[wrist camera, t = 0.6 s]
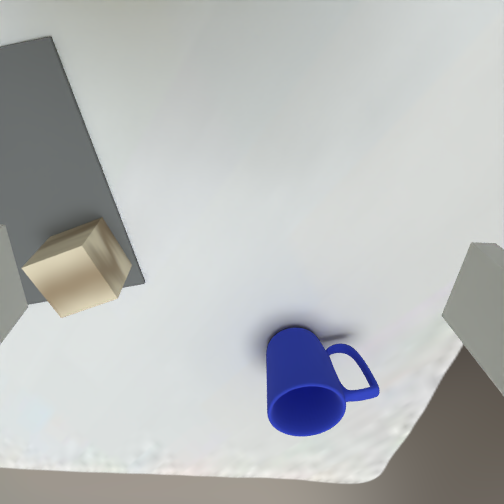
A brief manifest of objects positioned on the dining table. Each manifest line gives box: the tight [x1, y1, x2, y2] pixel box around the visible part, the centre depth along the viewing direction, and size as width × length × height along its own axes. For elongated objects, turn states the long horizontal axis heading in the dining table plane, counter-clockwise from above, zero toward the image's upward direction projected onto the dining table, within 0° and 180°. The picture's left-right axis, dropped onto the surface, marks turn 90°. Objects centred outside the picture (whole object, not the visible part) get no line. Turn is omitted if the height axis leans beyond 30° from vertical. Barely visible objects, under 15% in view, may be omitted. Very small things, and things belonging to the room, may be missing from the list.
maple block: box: [22, 217, 132, 318], centre depth 37 cm, size 6×6×6 cm
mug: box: [266, 328, 379, 436], centre depth 43 cm, size 8×12×10 cm
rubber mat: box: [0, 37, 145, 305], centre depth 36 cm, size 24×20×1 cm
